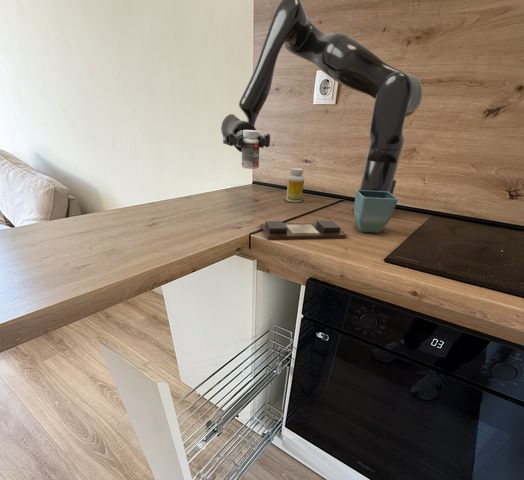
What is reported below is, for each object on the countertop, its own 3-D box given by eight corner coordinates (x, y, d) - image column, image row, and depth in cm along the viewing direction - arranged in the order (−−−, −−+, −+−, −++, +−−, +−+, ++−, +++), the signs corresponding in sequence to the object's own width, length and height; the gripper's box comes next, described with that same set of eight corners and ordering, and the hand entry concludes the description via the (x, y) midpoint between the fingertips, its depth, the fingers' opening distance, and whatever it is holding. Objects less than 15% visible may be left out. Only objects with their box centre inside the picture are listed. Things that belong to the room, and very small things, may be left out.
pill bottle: (256, 169, 82) (257, 131, 77) (239, 168, 83) (239, 130, 78) (260, 166, 86) (261, 130, 81) (244, 165, 86) (244, 129, 81)
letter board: (331, 225, 84) (332, 218, 83) (345, 238, 77) (346, 230, 76) (260, 226, 81) (260, 218, 80) (268, 239, 73) (268, 231, 72)
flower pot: (348, 224, 86) (355, 189, 81) (378, 226, 86) (388, 191, 81) (354, 234, 79) (363, 196, 74) (387, 236, 79) (399, 199, 74)
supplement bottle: (284, 198, 107) (287, 167, 101) (298, 198, 108) (302, 167, 102) (288, 202, 103) (291, 170, 96) (303, 202, 104) (307, 170, 98)
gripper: (218, 119, 88) (224, 123, 75) (267, 122, 90) (280, 125, 77) (219, 150, 92) (225, 158, 80) (265, 151, 95) (278, 160, 82)
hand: (252, 142), depth 79 cm, fingers closed on pill bottle, 4 cm apart
